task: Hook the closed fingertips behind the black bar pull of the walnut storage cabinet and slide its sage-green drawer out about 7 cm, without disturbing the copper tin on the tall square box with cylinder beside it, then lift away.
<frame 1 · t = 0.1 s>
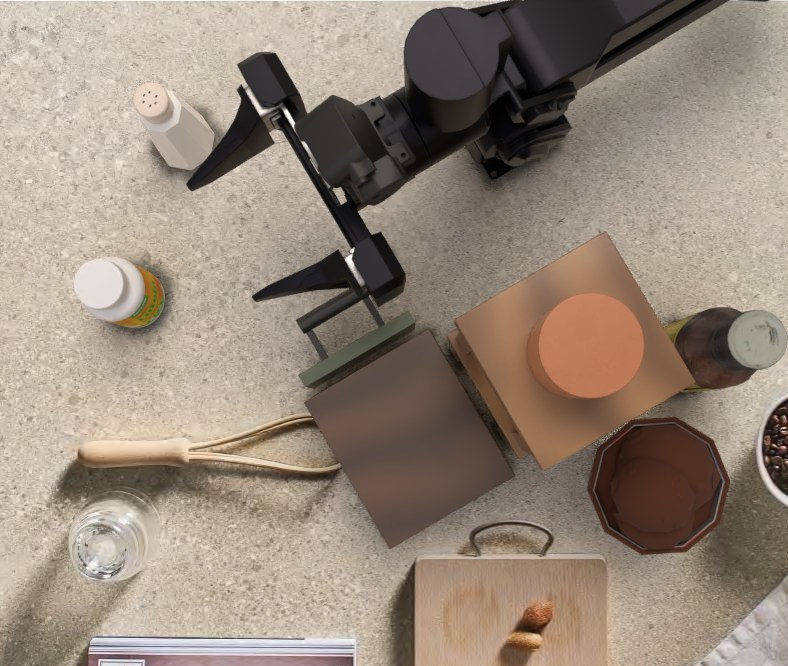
hand: (220, 243, 62), 17 cm above the worktop, tool horizontal, fingers open, 9 cm apart
cabinet: (409, 435, 78), on the worktop
tin: (574, 350, 55), point 24 cm above the worktop, touching square box with cylinder
supplement bottle: (137, 299, 79), on the worktop
drawer: (380, 386, 74), point 4 cm above the worktop, slide at 1.0 cm
salt shaker: (186, 142, 79), on the worktop
sauce bottle: (675, 357, 78), on the worktop
brown polygonal jar: (628, 476, 78), on the worktop
square box with cylinder: (525, 367, 78), on the worktop
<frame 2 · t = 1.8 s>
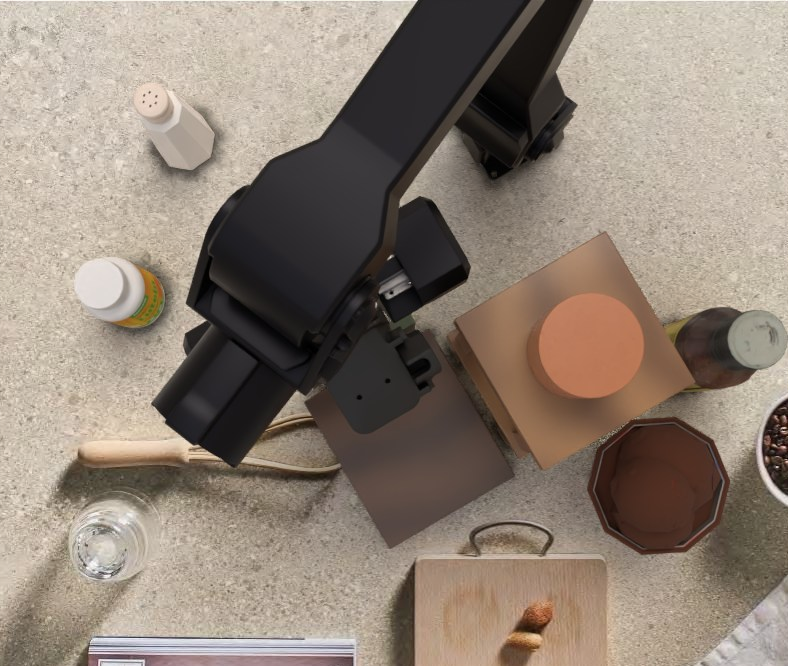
hand: (337, 319, 66), 13 cm above the worktop, tool pointing down, fingers open, 5 cm apart
nothing on the worktop moved.
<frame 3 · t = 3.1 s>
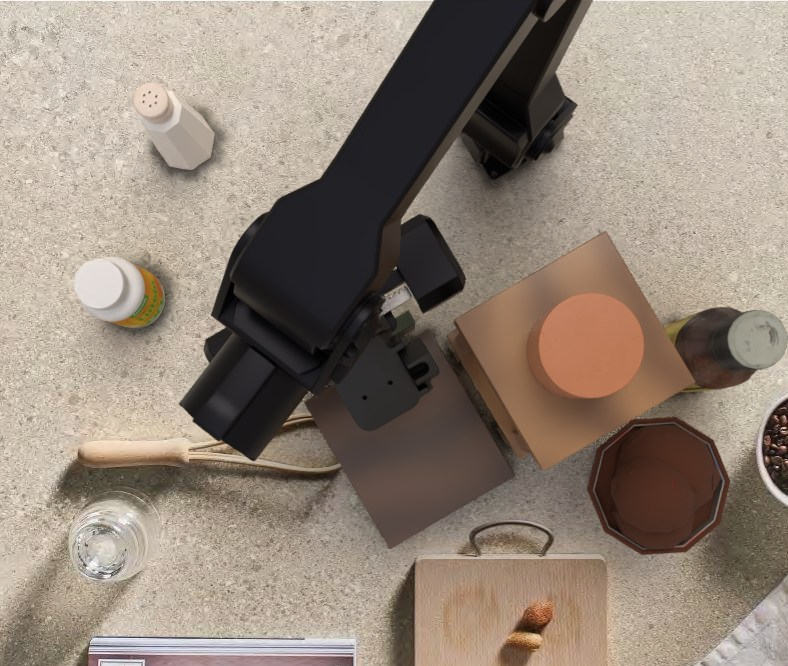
hand: (344, 325, 71), 8 cm above the worktop, tool pointing down, fingers closed
nothing on the worktop moved.
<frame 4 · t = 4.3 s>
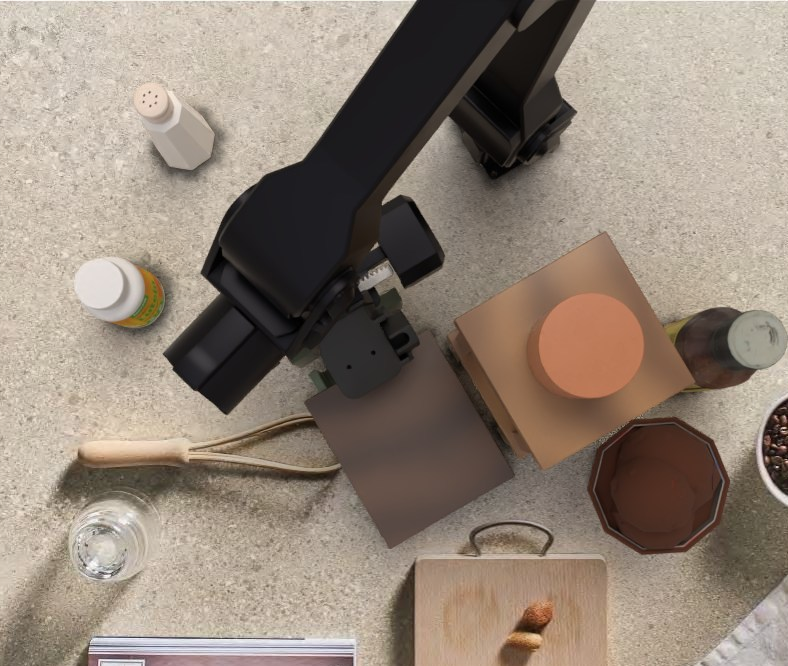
hand: (331, 304, 75), 4 cm above the worktop, tool pointing down, fingers closed, pressing on drawer
drawer: (367, 365, 74), point 4 cm above the worktop, slide at 3.2 cm, touching gripper
everything else where it was.
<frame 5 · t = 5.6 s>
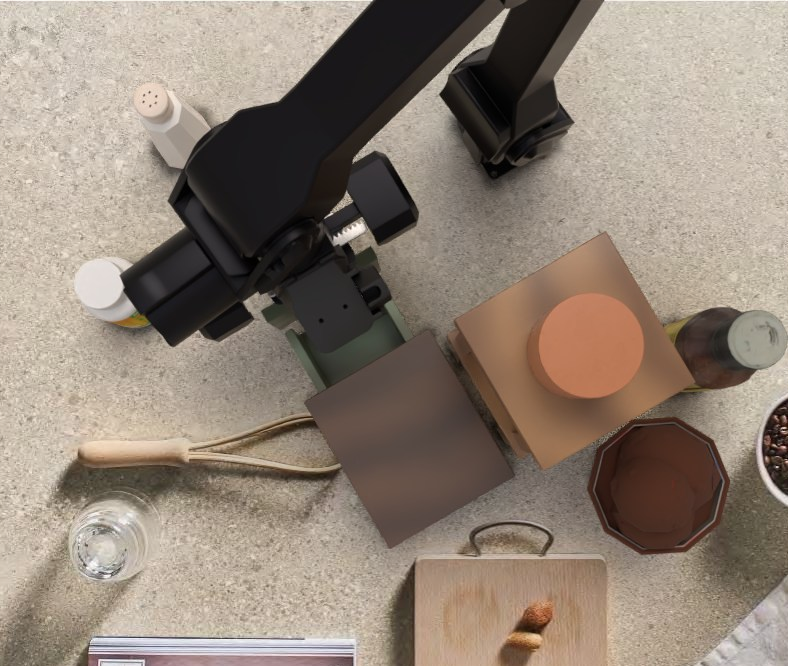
hand: (308, 265, 75), 4 cm above the worktop, tool pointing down, fingers closed, pressing on drawer
drawer: (344, 325, 74), point 4 cm above the worktop, slide at 7.0 cm, touching gripper
everything else where it was.
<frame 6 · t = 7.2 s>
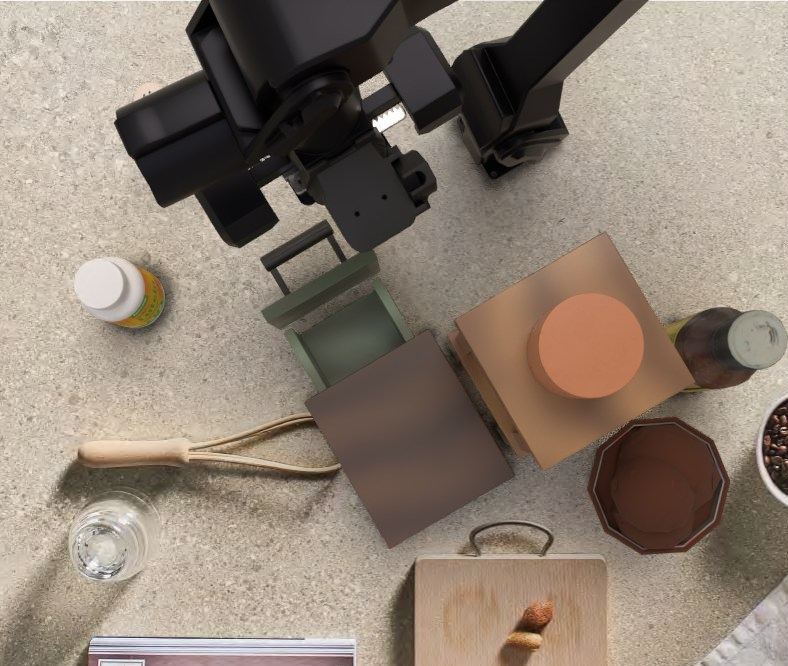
hand: (336, 171, 67), 12 cm above the worktop, tool pointing down, fingers closed
drawer: (344, 325, 74), point 4 cm above the worktop, slide at 7.0 cm
everything else where it was.
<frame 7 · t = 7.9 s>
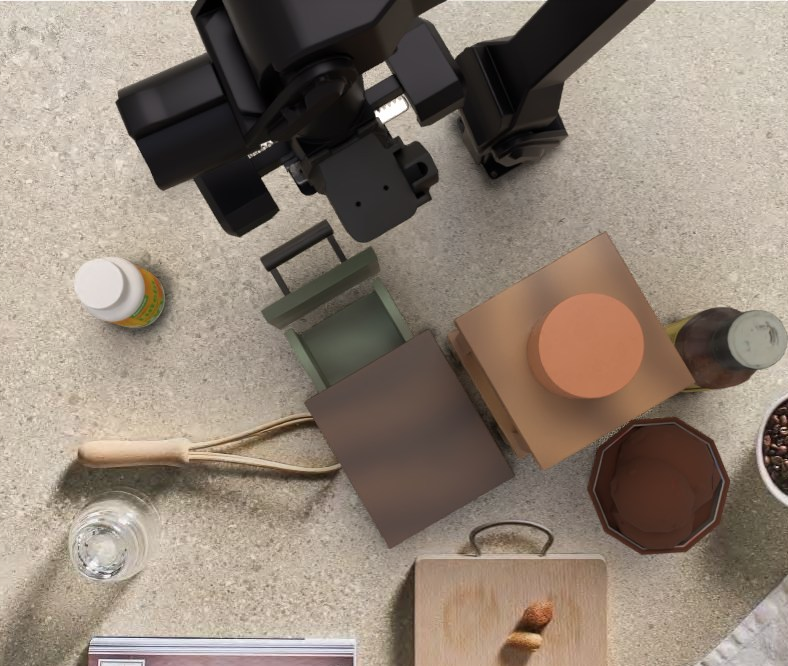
hand: (337, 162, 67), 12 cm above the worktop, tool pointing down, fingers closed
nothing on the worktop moved.
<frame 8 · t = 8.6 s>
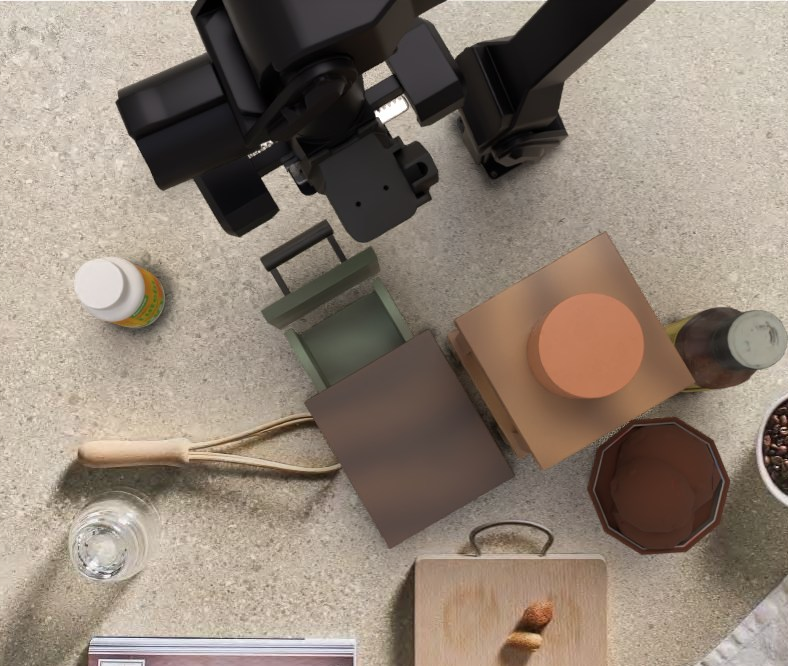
hand: (337, 162, 67), 12 cm above the worktop, tool pointing down, fingers closed
nothing on the worktop moved.
at the end: drawer slide at 7.0 cm; tin moved 0.0 cm from its start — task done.
